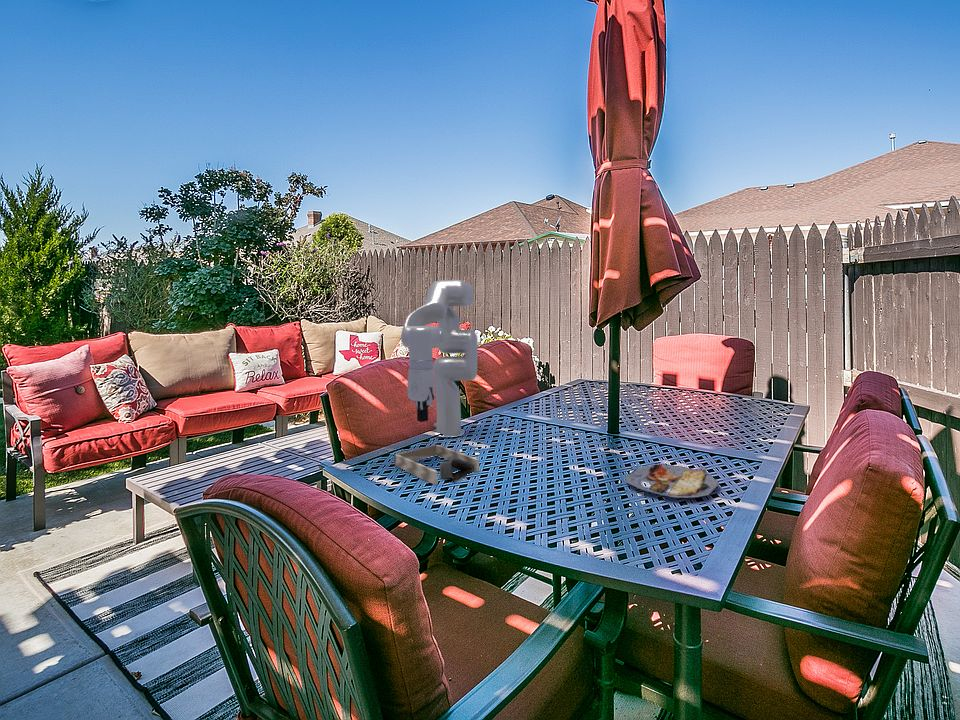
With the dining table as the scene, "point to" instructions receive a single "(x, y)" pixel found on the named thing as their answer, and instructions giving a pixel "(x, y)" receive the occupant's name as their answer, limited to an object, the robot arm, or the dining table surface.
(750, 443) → the dining table surface
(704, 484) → the food plate
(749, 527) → the dining table surface
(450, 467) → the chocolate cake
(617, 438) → the dining table surface
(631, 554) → the dining table surface
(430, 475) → the beige u-shaped frame
